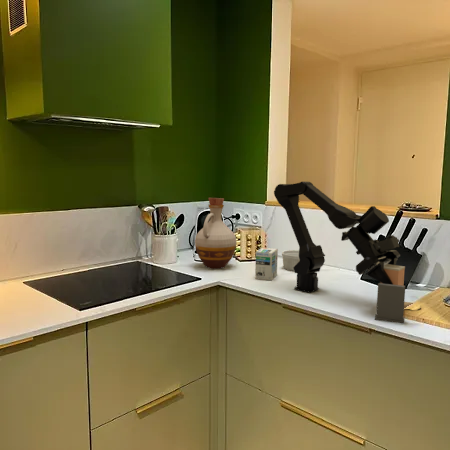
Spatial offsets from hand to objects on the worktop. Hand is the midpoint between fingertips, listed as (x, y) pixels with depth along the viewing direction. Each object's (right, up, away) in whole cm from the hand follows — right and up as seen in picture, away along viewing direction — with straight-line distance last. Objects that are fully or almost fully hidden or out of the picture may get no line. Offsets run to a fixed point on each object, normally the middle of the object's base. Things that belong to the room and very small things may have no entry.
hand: (396, 284), depth 124 cm
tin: (-1, -8, +2) cm, 8 cm away
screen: (-5, -9, -7) cm, 12 cm away
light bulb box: (-35, -3, +41) cm, 54 cm away
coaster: (+6, -8, +5) cm, 11 cm away
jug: (-55, -1, +56) cm, 79 cm away
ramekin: (-20, -1, +56) cm, 59 cm away
